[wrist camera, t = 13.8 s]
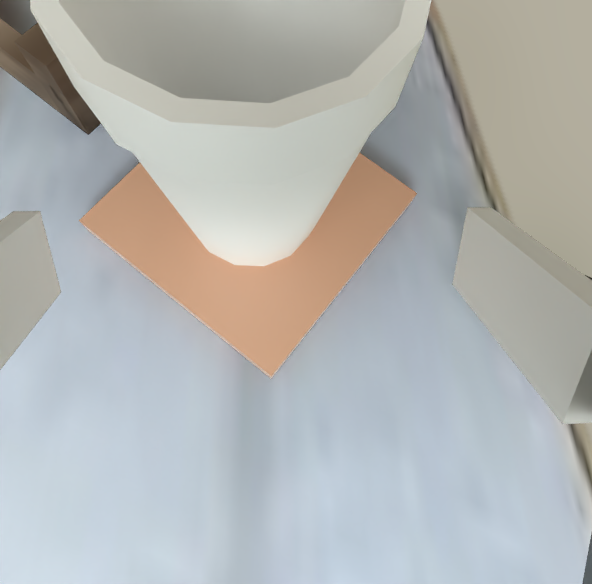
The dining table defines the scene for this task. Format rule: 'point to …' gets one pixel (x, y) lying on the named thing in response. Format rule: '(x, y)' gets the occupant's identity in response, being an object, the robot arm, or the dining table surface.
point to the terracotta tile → (251, 279)
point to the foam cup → (239, 101)
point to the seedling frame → (43, 73)
